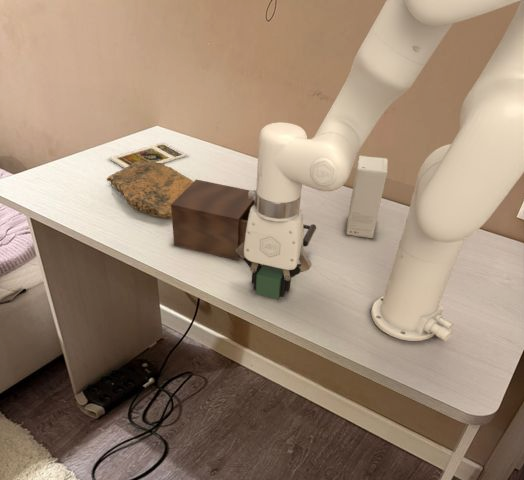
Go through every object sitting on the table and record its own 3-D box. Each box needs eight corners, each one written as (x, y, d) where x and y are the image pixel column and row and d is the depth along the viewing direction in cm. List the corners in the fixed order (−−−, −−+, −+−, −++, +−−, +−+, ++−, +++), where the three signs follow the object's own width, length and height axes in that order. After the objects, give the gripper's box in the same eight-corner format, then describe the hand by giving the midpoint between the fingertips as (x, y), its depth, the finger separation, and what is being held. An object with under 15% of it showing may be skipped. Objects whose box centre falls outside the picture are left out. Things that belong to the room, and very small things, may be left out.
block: (285, 286, 96) (287, 267, 93) (278, 299, 93) (280, 280, 90) (262, 281, 97) (264, 261, 94) (255, 294, 94) (256, 274, 91)
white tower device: (372, 239, 111) (388, 173, 100) (343, 235, 112) (356, 168, 101) (374, 221, 117) (389, 157, 106) (346, 217, 118) (359, 153, 107)
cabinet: (256, 231, 111) (258, 192, 104) (237, 260, 102) (238, 219, 95) (197, 218, 114) (196, 179, 107) (173, 245, 105) (170, 204, 98)
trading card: (109, 157, 133) (163, 142, 143) (109, 159, 134) (163, 144, 143) (131, 170, 128) (185, 154, 138) (131, 172, 129) (185, 156, 138)
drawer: (315, 242, 107) (320, 210, 102) (302, 270, 99) (307, 236, 94) (238, 225, 111) (239, 193, 105) (219, 251, 103) (219, 217, 97)
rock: (216, 183, 120) (165, 214, 106) (215, 203, 124) (165, 235, 110) (136, 150, 127) (78, 175, 113) (137, 170, 130) (81, 197, 117)
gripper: (223, 202, 81) (223, 290, 94) (321, 223, 78) (307, 311, 91) (238, 184, 87) (236, 269, 99) (331, 203, 83) (316, 288, 96)
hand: (270, 288), depth 95 cm, fingers closed on block, 4 cm apart
